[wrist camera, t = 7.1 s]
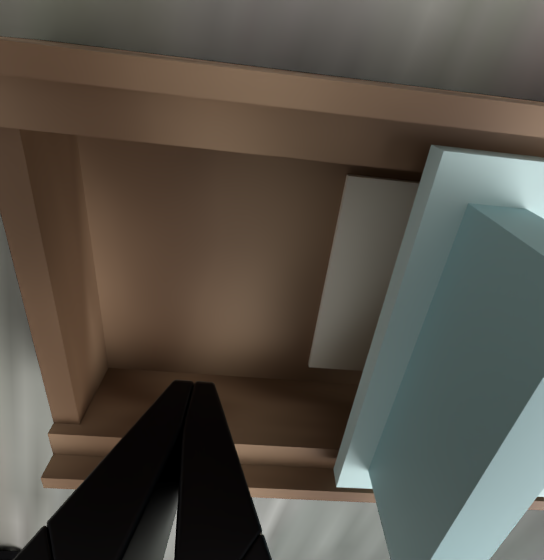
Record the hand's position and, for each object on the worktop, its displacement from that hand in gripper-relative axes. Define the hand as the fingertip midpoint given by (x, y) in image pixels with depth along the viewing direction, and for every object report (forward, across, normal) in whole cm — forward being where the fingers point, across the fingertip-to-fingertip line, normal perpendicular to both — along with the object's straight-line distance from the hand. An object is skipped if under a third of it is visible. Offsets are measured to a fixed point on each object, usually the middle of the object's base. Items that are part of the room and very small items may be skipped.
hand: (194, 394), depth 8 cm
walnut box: (+6, -4, 0) cm, 7 cm away
